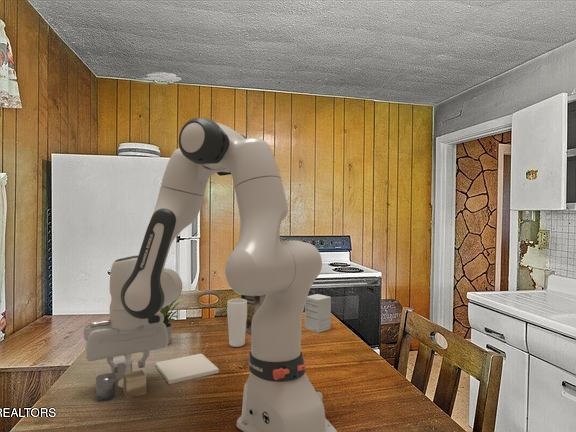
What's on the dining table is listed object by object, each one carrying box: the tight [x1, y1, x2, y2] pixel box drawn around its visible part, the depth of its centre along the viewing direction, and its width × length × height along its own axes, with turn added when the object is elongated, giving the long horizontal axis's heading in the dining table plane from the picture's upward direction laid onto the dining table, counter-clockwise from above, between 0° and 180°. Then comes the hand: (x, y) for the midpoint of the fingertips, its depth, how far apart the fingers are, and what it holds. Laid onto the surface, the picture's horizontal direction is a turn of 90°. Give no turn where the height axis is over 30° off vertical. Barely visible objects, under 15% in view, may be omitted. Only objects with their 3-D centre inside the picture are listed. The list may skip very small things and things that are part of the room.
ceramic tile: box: [155, 353, 220, 385], centre depth 113 cm, size 14×14×1 cm
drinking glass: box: [226, 298, 247, 348], centre depth 134 cm, size 7×7×15 cm
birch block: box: [123, 369, 147, 399], centre depth 99 cm, size 4×4×4 cm
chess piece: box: [117, 354, 133, 389], centre depth 104 cm, size 5×5×10 cm
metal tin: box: [95, 372, 117, 403], centre depth 96 cm, size 4×4×5 cm
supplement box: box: [304, 293, 332, 334], centre depth 152 cm, size 7×7×13 cm
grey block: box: [111, 356, 133, 381], centre depth 109 cm, size 4×4×4 cm
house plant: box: [160, 296, 184, 346], centre depth 135 cm, size 14×14×16 cm
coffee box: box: [240, 295, 266, 334], centre depth 149 cm, size 9×6×16 cm
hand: (128, 370), depth 104 cm, fingers open, 5 cm apart
